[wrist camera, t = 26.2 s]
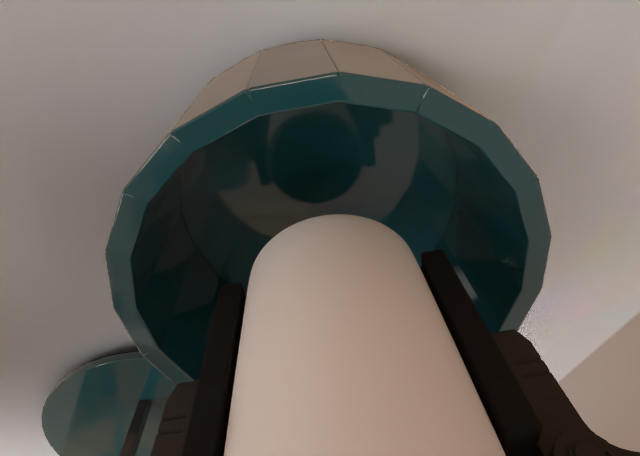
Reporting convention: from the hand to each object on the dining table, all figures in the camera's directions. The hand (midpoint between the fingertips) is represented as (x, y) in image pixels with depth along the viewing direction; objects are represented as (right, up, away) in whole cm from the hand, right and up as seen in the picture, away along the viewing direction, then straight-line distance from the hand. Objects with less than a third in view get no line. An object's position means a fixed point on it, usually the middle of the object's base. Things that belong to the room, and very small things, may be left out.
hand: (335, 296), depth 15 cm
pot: (-1, +4, +6) cm, 7 cm away
